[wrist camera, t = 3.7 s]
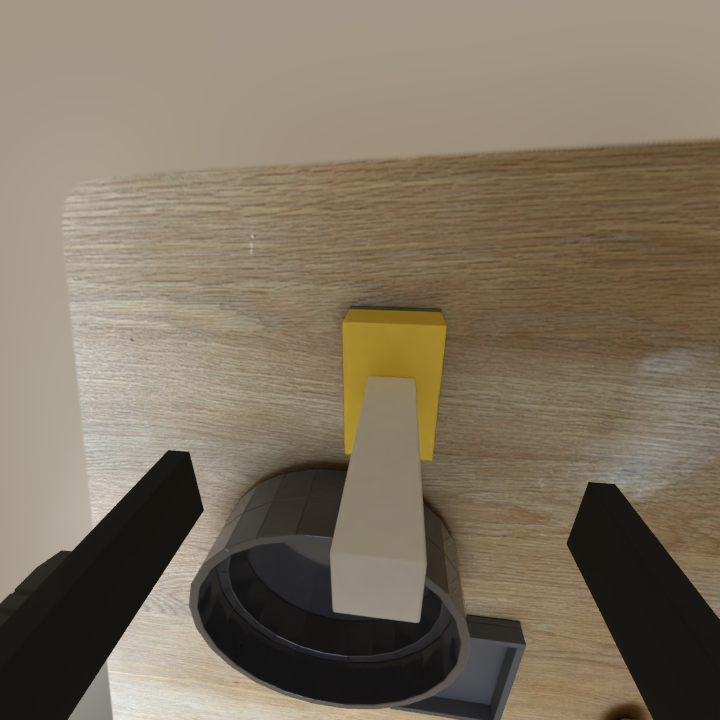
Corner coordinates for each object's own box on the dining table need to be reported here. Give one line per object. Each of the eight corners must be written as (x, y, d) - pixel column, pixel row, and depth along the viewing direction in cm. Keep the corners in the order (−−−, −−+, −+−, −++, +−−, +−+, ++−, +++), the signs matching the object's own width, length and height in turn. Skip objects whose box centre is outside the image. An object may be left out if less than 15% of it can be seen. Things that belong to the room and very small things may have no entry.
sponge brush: (350, 305, 19) (266, 459, 7) (441, 308, 19) (504, 479, 7) (351, 424, 23) (293, 663, 11) (428, 430, 22) (457, 687, 10)
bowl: (506, 569, 26) (532, 664, 21) (343, 643, 33) (330, 730, 27) (335, 415, 22) (314, 482, 17) (190, 534, 29) (140, 610, 24)
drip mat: (396, 606, 30) (396, 628, 28) (519, 621, 28) (526, 645, 27) (390, 686, 35) (390, 708, 33) (494, 702, 34) (498, 725, 32)
